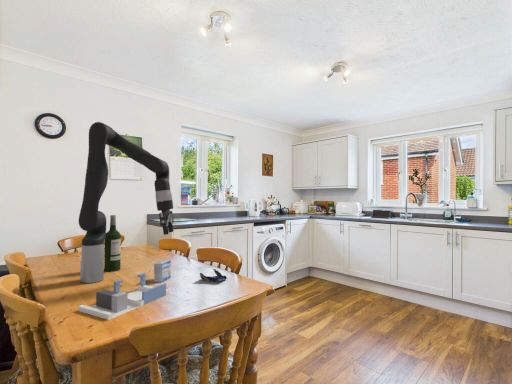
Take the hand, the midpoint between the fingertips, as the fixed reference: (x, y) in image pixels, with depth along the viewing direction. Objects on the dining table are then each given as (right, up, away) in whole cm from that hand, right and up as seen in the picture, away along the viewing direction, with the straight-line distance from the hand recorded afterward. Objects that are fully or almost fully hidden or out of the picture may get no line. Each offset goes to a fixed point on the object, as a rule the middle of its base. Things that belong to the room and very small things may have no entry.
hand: (168, 233), depth 133 cm
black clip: (+22, -23, -2) cm, 32 cm away
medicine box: (-3, -23, 0) cm, 23 cm away
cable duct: (-6, -22, -30) cm, 37 cm away
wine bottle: (-36, -23, +17) cm, 46 cm away
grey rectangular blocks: (-10, -21, -35) cm, 42 cm away
